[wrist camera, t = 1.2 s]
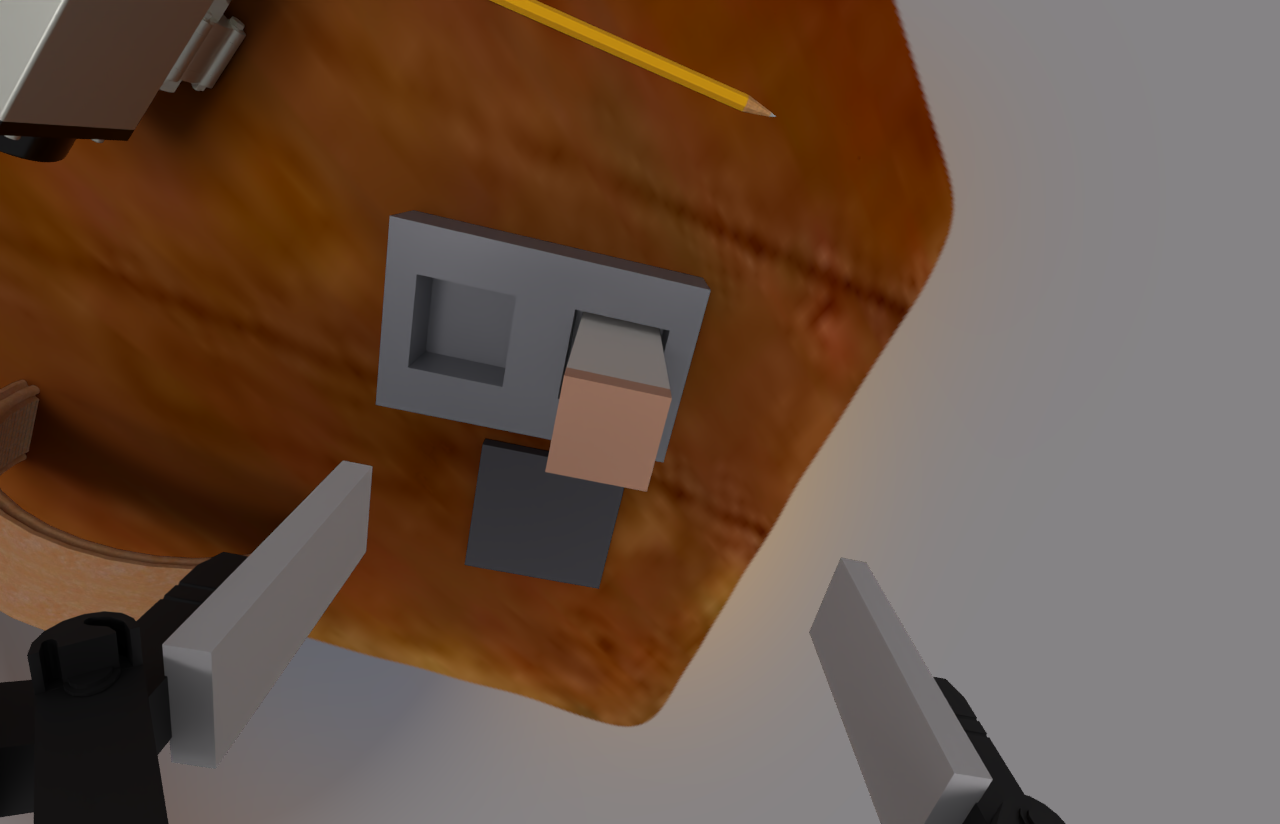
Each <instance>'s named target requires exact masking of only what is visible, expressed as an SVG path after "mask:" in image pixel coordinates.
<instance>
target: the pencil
mask: <svg viewBox="0 0 1280 824" xmlns="http://www.w3.org/2000/svg"><path fill="white" fill-rule="evenodd" d="M490 1H492V2H494V3H497V4H499V5H501V6H504V7H506V8H508V9H510V10H513V11H515V12H517V13H519V14H522V15H524V16H526V17H529V18H531V19H533V20H535V21H538V22H540V23H542V24H544V25H547V26H549V27H551V28H554V29H556V30H558V31H560V32H563V33H565V34H567V35H569V36H572V37H574V38H576V39H579V40H581V41H583V42H585V43H588V44H590V45H592V46H594V47H597V48H599V49H601V50H604V51H606V52H608V53H610V54H613V55H615V56H617V57H619V58H622V59H624V60H626V61H629V62H631V63H633V64H635V65H638V66H640V67H642V68H644V69H647V70H649V71H651V72H654V73H656V74H658V75H660V76H663V77H665V78H667V79H669V80H672V81H674V82H676V83H679V84H681V85H683V86H685V87H688V88H690V89H692V90H694V91H697V92H699V93H701V94H704V95H706V96H708V97H710V98H713V99H715V100H717V101H719V102H722V103H724V104H726V105H729V106H731V107H733V108H735V109H738V110H740V111H742V112H748V113H753V114H758V115H764V116H769V117H776V116H775V115H774V114H773V113H772V112H770V111H769V110H768V109H766V108H765V107H764V106H762V105H761V104H760V103H759V102H757V101H756V100H755V99H753V98H752V97H751V96H749V95H747V94H745V93H743V92H741V91H738V90H736V89H734V88H732V87H729V86H727V85H725V84H723V83H720V82H718V81H716V80H714V79H711V78H709V77H707V76H705V75H703V74H700V73H698V72H696V71H694V70H691V69H689V68H687V67H685V66H682V65H680V64H678V63H676V62H673V61H671V60H669V59H667V58H664V57H662V56H660V55H658V54H655V53H653V52H651V51H649V50H646V49H644V48H642V47H640V46H637V45H635V44H633V43H631V42H628V41H626V40H624V39H622V38H619V37H617V36H615V35H613V34H610V33H608V32H606V31H604V30H601V29H599V28H597V27H595V26H592V25H590V24H588V23H586V22H583V21H581V20H579V19H577V18H575V17H572V16H570V15H568V14H566V13H563V12H561V11H559V10H557V9H554V8H552V7H550V6H548V5H545V4H543V3H541V2H539V1H536V0H490Z"/></svg>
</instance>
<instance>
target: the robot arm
mask: <svg viewBox="0 0 1280 824" xmlns="http://www.w3.org/2000/svg"><path fill="white" fill-rule="evenodd" d="M371 479H372V466H369V465H363V464H358V463H353V462H348V461H342V462H341V463H340V464H339V465H338V466H337V467H336V468H335V469H334V470H333V471H332V472H331V473H330V474H329V475H328V476H327V477H326V478H325V479H324V480H323V481H322V482H321V483H320V484H319V485H318V486H317V487H316V488H315V489H314V490H313V491H312V492H311V494H310V495H309V496H308V497H307V498H306V499H305V500H304V501H303V502H302V503H301V504H300V505H299V506H298V507H297V508H296V509H295V510H294V511H293V512H292V513H291V514H290V515H289V516H288V517H287V518H286V519H285V520H284V521H283V522H282V523H281V524H280V525H279V526H278V527H277V528H276V529H275V530H274V531H273V532H272V533H271V534H270V535H269V536H268V537H267V538H266V539H265V540H264V541H263V542H262V543H261V544H260V545H259V546H258V547H257V548H256V549H255V550H254V552H253V553H252V554H251V555H250V556H249V557H248V556H243V555H237V554H231V553H226V552H222V553H220V554H218V555H216V556H214V557H212V558H210V559H208V560H206V561H204V562H202V563H200V564H198V565H197V566H196V567H195V568H194V569H192V570H191V571H190V572H189V573H188V574H187V575H186V576H185V577H184V578H183V579H182V580H180V581H179V584H178V585H175V586H174V587H173V588H172V589H171V590H170V591H169V592H167V593H166V594H165V595H164V598H163V599H160V600H159V601H158V602H157V603H155V604H154V605H153V606H152V607H151V608H150V609H149V610H148V611H147V612H146V613H145V614H143V615H142V616H141V617H140V618H139V619H138V620H137V621H135V619H134V618H132V617H130V616H128V615H126V614H123V613H119V612H107V611H103V612H95V613H88V614H82V615H79V616H76V617H73V618H70V619H67V620H64V621H62V622H60V623H58V624H56V625H54V626H53V627H51V628H49V629H47V630H45V631H44V632H43V633H42V634H41V635H40V636H39V637H38V638H37V639H36V640H35V641H34V642H32V644H31V647H30V650H29V652H28V655H27V656H28V661H29V666H30V672H31V677H32V680H26V681H15V682H3V683H0V817H5V816H12V815H18V814H25V813H31V812H34V824H168V818H167V813H166V806H165V799H164V794H163V787H162V781H161V774H160V768H159V762H158V756H157V755H158V754H159V752H160V751H161V750H162V749H163V748H164V746H165V745H166V744H167V743H168V742H169V740H170V750H171V762H174V763H180V764H187V765H194V766H201V767H208V768H214V769H215V768H217V766H218V765H219V763H220V762H221V761H222V759H223V758H224V756H225V755H226V753H227V752H228V750H229V749H230V748H231V746H232V745H233V743H234V742H235V740H236V739H237V738H238V736H239V735H240V733H241V732H242V730H243V729H244V727H245V726H246V725H247V723H248V722H249V720H250V719H251V717H252V716H253V714H254V713H255V711H256V710H257V709H258V707H259V706H260V704H261V703H262V701H263V700H264V698H265V697H266V695H267V694H268V693H269V691H270V690H271V688H272V687H273V685H274V684H275V683H276V681H277V680H278V678H279V677H280V675H281V674H282V672H283V671H284V670H285V668H286V667H287V665H288V664H289V662H290V661H291V659H292V658H293V657H294V655H295V654H296V652H297V651H298V649H299V648H300V646H301V645H302V643H303V642H304V641H305V639H306V638H307V636H308V635H309V633H310V632H311V631H312V629H313V628H314V626H315V625H316V623H317V622H318V620H319V619H320V618H321V616H322V615H323V613H324V612H325V610H326V609H327V607H328V606H329V605H330V603H331V602H332V600H333V599H334V597H335V596H336V594H337V593H338V592H339V590H340V589H341V587H342V586H343V584H344V583H345V581H346V580H347V579H348V577H349V576H350V574H351V573H352V571H353V570H354V568H355V567H356V565H357V564H358V563H359V561H360V560H361V558H362V557H363V555H364V554H365V552H366V545H367V532H368V519H369V505H370V492H371ZM809 633H810V635H811V638H812V641H813V644H814V646H815V649H816V652H817V654H818V657H819V659H820V662H821V665H822V668H823V670H824V673H825V676H826V678H827V681H828V684H829V686H830V689H831V692H832V694H833V697H834V700H835V702H836V705H837V708H838V710H839V713H840V716H841V719H842V721H843V724H844V726H845V729H846V732H847V735H848V737H849V740H850V742H851V745H852V748H853V751H854V753H855V756H856V759H857V761H858V764H859V767H860V769H861V772H862V775H863V777H864V780H865V783H866V785H867V788H868V791H869V793H870V796H871V798H872V801H873V804H874V806H875V809H876V812H877V815H878V817H879V820H880V823H881V824H1065V823H1064V821H1063V820H1062V819H1061V818H1060V817H1059V816H1058V815H1057V814H1056V813H1055V812H1053V811H1052V810H1051V809H1050V808H1048V807H1047V806H1046V805H1045V804H1043V803H1041V802H1039V801H1037V800H1035V799H1034V798H1032V797H1030V796H1026V795H1024V793H1023V792H1022V790H1021V788H1020V787H1019V785H1018V783H1017V782H1016V780H1015V778H1014V777H1013V775H1012V774H1011V772H1010V771H1009V769H1008V767H1007V766H1006V764H1005V762H1004V761H1003V759H1002V758H1001V756H1000V755H999V753H998V751H997V750H996V748H995V746H994V745H993V743H992V742H991V740H990V738H988V737H987V736H986V734H987V733H986V732H985V730H984V729H983V727H982V725H981V724H980V722H979V721H977V720H976V718H977V717H976V716H975V714H974V712H973V711H972V709H971V708H970V706H969V704H968V703H967V701H966V699H965V698H964V697H963V696H962V695H961V694H960V693H959V692H958V691H957V690H956V689H955V688H954V687H953V686H952V685H951V684H950V683H949V682H948V681H947V680H946V679H943V678H937V677H933V676H932V674H931V673H930V671H929V669H928V667H927V666H926V665H925V662H924V661H923V659H922V657H921V656H920V654H919V652H918V650H917V649H916V647H915V645H914V643H913V642H912V640H911V638H910V637H909V635H908V633H907V631H906V630H905V628H904V626H903V625H902V623H901V621H900V620H899V618H898V616H897V614H896V613H895V611H894V609H893V608H892V606H891V604H890V603H889V601H888V599H887V597H886V595H885V594H884V592H883V590H882V589H881V587H880V585H879V583H878V582H877V580H876V578H875V577H874V575H873V573H872V571H871V570H870V568H869V566H868V565H867V563H866V562H862V561H856V560H851V559H846V558H841V559H840V561H839V563H838V566H837V568H836V570H835V572H834V575H833V577H832V580H831V582H830V584H829V587H828V589H827V591H826V594H825V596H824V598H823V601H822V603H821V606H820V608H819V611H818V613H817V615H816V618H815V620H814V622H813V625H812V627H811V630H810V632H809Z"/></svg>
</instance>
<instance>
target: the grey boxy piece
mask: <svg viewBox="0 0 1280 824" xmlns="http://www.w3.org/2000/svg"><path fill="white" fill-rule="evenodd" d="M710 291H711V290H710V288H709V287H708V285H707V284H706V282H705V280H704V279H703V278H701V277H697V276H693V275H688V274H684V273H680V272H675V271H671V270H667V269H663V268H658V267H654V266H650V265H645V264H641V263H637V262H633V261H628V260H624V259H620V258H616V257H611V256H607V255H603V254H598V253H594V252H590V251H586V250H581V249H577V248H573V247H568V246H564V245H560V244H556V243H551V242H547V241H543V240H538V239H534V238H530V237H526V236H521V235H517V234H513V233H508V232H504V231H500V230H496V229H491V228H487V227H483V226H478V225H474V224H470V223H466V222H461V221H457V220H453V219H448V218H444V217H440V216H436V215H431V214H427V213H423V212H419V211H414V210H413V211H409V212H404V213H400V214H395V215H391V216H390V221H389V234H388V248H387V261H386V274H385V288H384V301H383V315H382V328H381V342H380V355H379V369H378V382H377V396H376V405H380V406H385V407H390V408H395V409H400V410H405V411H410V412H415V413H420V414H425V415H430V416H435V417H440V418H445V419H450V420H455V421H460V422H465V423H469V424H474V425H479V426H484V427H489V428H494V429H499V430H504V431H509V432H514V433H519V434H524V435H529V436H534V437H539V438H544V439H549V440H552V434H553V429H554V424H555V419H556V414H557V409H558V404H559V399H560V393H561V388H562V383H563V378H564V374H565V371H566V367H567V364H568V361H569V357H570V354H571V351H572V347H573V344H574V341H575V338H576V334H577V331H578V328H579V324H580V321H581V318H582V315H583V311H584V312H589V313H593V314H598V315H602V316H607V317H611V318H616V319H620V320H624V321H629V322H633V323H638V324H642V325H647V326H651V327H656V328H659V330H660V336H661V341H662V347H663V352H664V358H665V363H666V369H667V374H668V380H669V385H670V391H671V396H672V400H671V403H670V407H669V411H668V414H667V418H666V422H665V426H664V429H663V433H662V437H661V440H660V444H659V448H658V452H657V455H656V459H655V461H659V462H664V458H665V454H666V451H667V447H668V443H669V440H670V436H671V432H672V429H673V425H674V422H675V418H676V414H677V411H678V407H679V403H680V400H681V396H682V392H683V389H684V385H685V382H686V378H687V374H688V371H689V367H690V363H691V360H692V356H693V352H694V349H695V345H696V342H697V338H698V334H699V331H700V327H701V323H702V320H703V316H704V312H705V309H706V305H707V302H708V298H709V294H710Z"/></svg>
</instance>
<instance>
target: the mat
mask: <svg viewBox="0 0 1280 824" xmlns="http://www.w3.org/2000/svg"><path fill="white" fill-rule="evenodd" d="M548 455H549V451H545V450H540V449H535V448H530V447H525V446H520V445H515V444H509V443H504V442H499V441H494V440H489V439H485V441H484V443H483V446H482V452H481V459H480V466H479V472H478V479H477V486H476V493H475V499H474V506H473V513H472V519H471V526H470V533H469V540H468V546H467V553H466V560H465V565H468V566H474V567H479V568H485V569H491V570H496V571H502V572H508V573H513V574H519V575H524V576H530V577H536V578H541V579H547V580H553V581H558V582H564V583H570V584H575V585H581V586H587V587H592V588H598V589H599V585H600V581H601V577H602V573H603V569H604V566H605V562H606V558H607V554H608V550H609V546H610V542H611V538H612V534H613V530H614V526H615V522H616V518H617V514H618V510H619V506H620V502H621V498H622V494H623V490H624V487H620V486H615V485H610V484H605V483H599V482H594V481H589V480H584V479H579V478H574V477H569V476H564V475H558V474H553V473H548V472H545V470H546V465H547V460H548Z"/></svg>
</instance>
